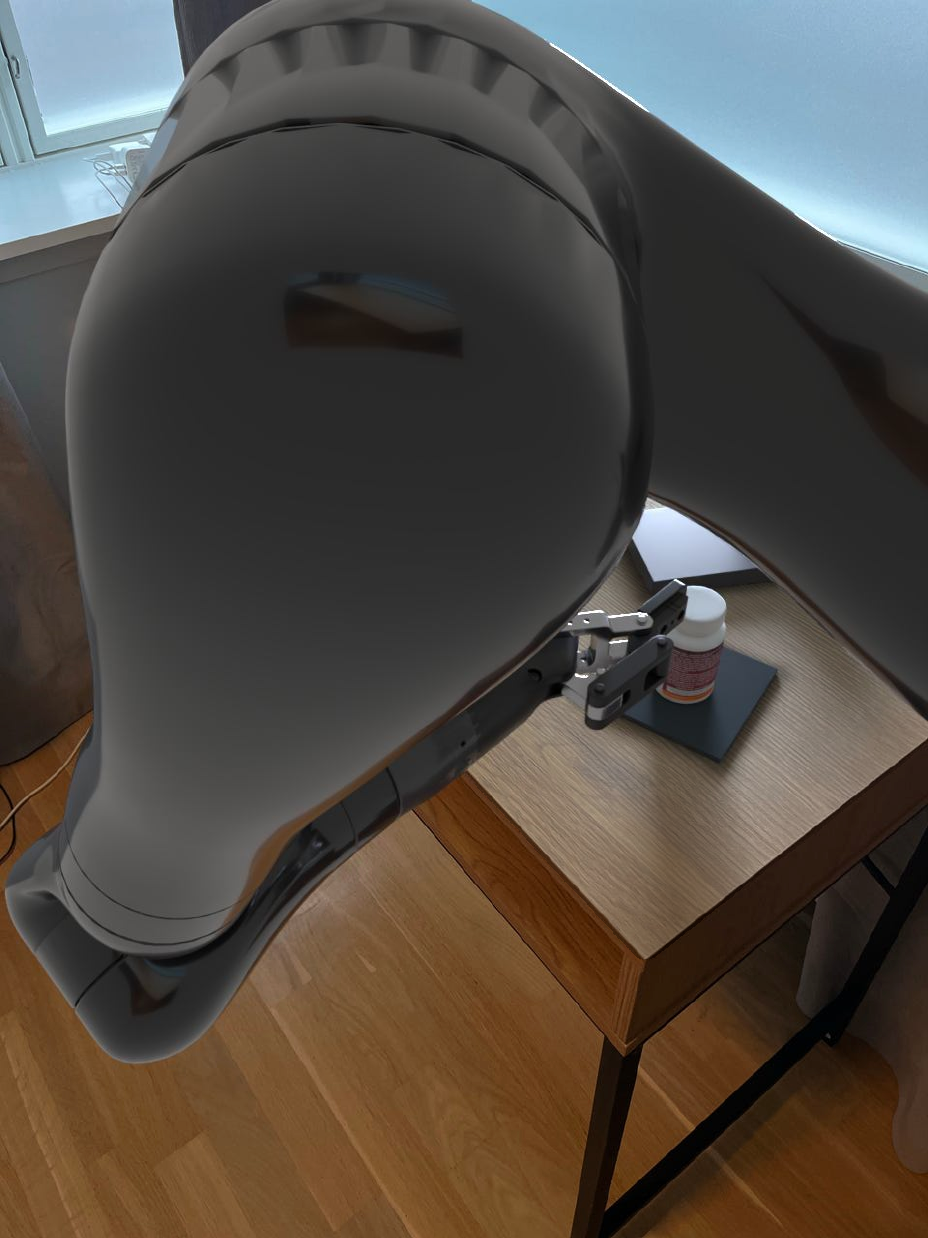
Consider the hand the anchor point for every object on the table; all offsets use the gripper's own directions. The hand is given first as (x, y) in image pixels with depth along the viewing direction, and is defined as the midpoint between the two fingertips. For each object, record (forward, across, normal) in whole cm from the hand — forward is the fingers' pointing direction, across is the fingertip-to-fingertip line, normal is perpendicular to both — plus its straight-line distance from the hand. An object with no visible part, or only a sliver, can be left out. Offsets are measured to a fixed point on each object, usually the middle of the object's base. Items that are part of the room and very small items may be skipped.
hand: (620, 560), depth 57 cm
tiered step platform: (+28, +7, +19) cm, 35 cm away
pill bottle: (+11, 0, +19) cm, 22 cm away
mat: (+11, 0, +19) cm, 22 cm away
